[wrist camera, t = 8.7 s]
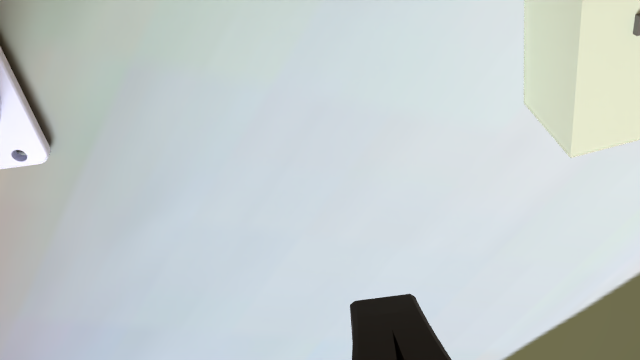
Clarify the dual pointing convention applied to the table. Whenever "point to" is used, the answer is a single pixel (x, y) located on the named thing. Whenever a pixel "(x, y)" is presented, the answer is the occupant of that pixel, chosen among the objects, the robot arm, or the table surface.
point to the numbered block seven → (583, 71)
